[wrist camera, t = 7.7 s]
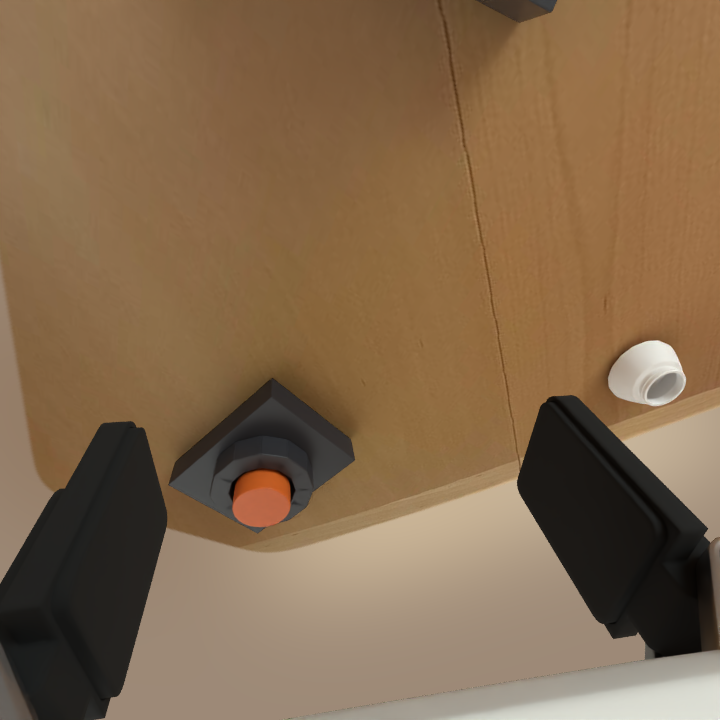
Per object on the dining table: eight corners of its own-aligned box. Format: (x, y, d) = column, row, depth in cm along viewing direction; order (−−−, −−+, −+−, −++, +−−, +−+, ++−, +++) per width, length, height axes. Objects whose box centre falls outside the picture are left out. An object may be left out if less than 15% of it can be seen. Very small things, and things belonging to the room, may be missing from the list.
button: (223, 489, 28) (219, 511, 27) (261, 459, 27) (259, 479, 26) (264, 513, 30) (263, 535, 29) (301, 485, 29) (302, 505, 28)
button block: (175, 462, 31) (161, 506, 28) (272, 377, 29) (270, 414, 25) (259, 510, 35) (256, 554, 32) (351, 439, 32) (359, 478, 29)
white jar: (668, 379, 34) (668, 327, 31) (698, 401, 32) (701, 347, 29) (607, 403, 34) (602, 354, 32) (632, 426, 32) (629, 375, 29)
